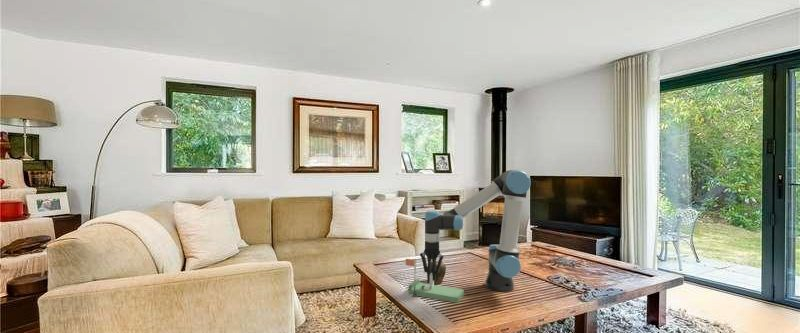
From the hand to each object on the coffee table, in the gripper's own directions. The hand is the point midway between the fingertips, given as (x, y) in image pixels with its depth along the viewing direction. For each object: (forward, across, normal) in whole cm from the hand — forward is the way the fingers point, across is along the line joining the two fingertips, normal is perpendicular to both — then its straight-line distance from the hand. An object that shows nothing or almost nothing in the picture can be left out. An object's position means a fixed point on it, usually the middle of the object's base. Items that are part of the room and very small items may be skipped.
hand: (431, 286), depth 172 cm
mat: (+4, -2, 0) cm, 4 cm away
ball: (+2, +3, 0) cm, 3 cm away
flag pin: (+4, +8, +8) cm, 12 cm away
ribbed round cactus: (+4, +4, -18) cm, 19 cm away
